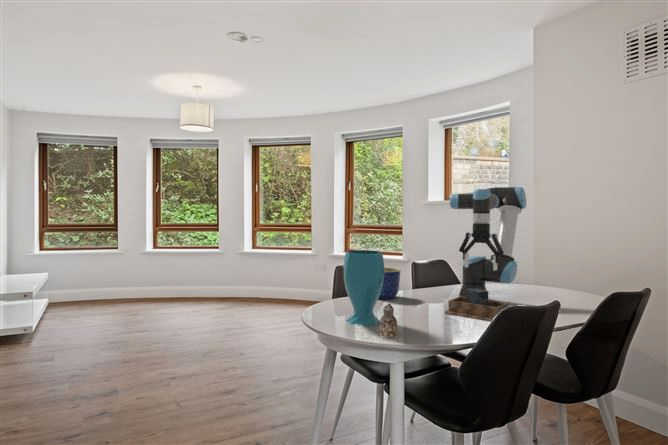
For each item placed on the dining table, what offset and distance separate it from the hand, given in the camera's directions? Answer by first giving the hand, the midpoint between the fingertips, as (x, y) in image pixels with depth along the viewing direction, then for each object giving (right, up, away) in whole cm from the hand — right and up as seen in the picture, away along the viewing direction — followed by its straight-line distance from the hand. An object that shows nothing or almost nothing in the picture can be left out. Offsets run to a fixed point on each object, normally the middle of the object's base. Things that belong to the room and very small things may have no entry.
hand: (480, 268), depth 207 cm
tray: (-1, -21, 0) cm, 21 cm away
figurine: (-47, -23, -34) cm, 62 cm away
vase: (-55, -22, -13) cm, 60 cm away
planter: (-40, -20, +37) cm, 58 cm away
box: (-2, -20, 0) cm, 20 cm away
